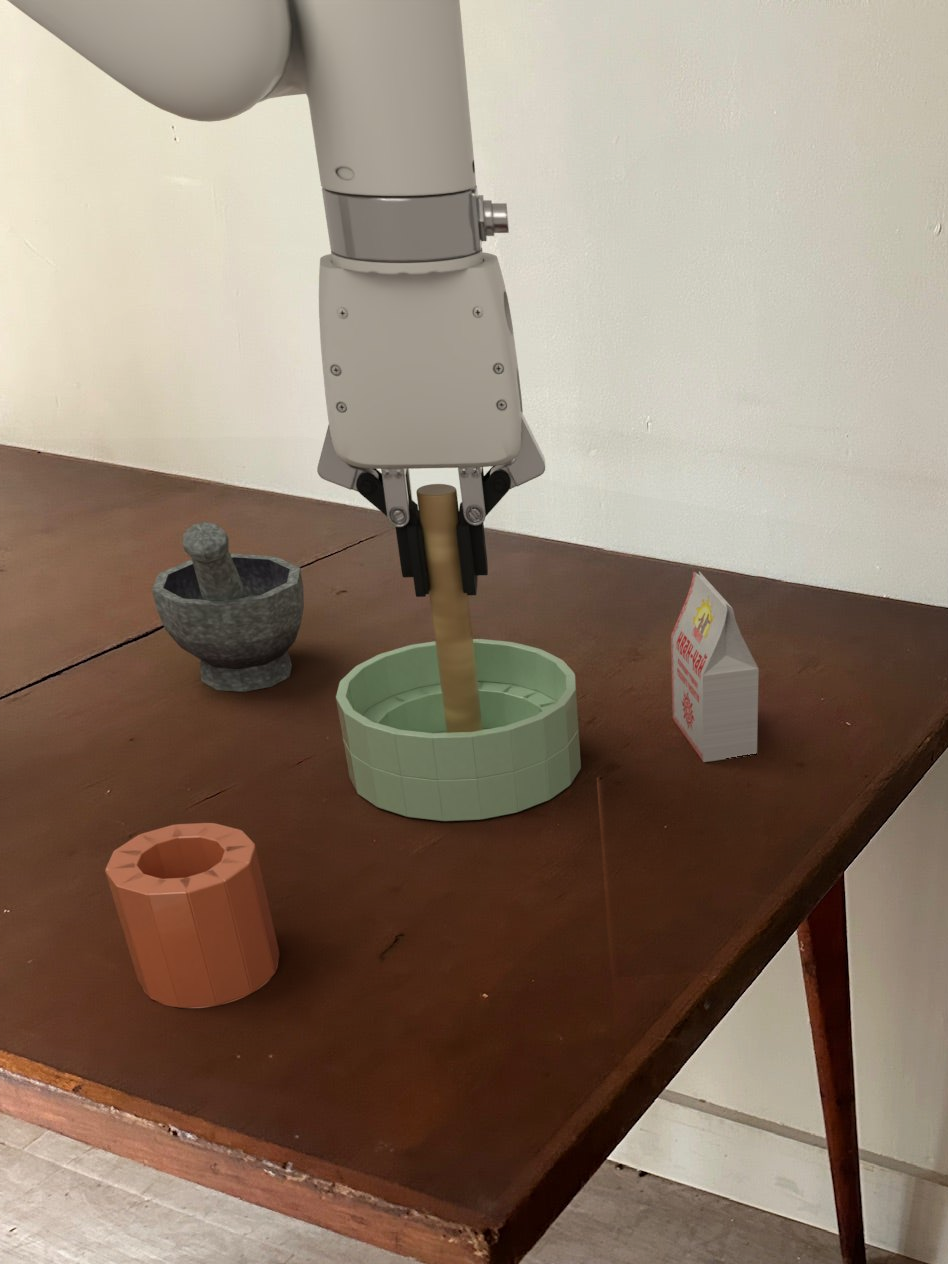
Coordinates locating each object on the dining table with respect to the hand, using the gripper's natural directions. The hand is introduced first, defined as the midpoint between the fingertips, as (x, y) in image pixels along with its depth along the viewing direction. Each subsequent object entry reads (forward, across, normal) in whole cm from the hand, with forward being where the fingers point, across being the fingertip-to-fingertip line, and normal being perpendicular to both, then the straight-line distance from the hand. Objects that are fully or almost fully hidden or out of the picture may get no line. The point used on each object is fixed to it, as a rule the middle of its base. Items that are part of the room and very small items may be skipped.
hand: (447, 585), depth 83 cm
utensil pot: (+12, +12, +21) cm, 27 cm away
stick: (+12, 0, 0) cm, 12 cm away
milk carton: (+12, -16, -4) cm, 21 cm away
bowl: (+12, 0, 0) cm, 12 cm away
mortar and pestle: (+12, +16, -16) cm, 26 cm away
